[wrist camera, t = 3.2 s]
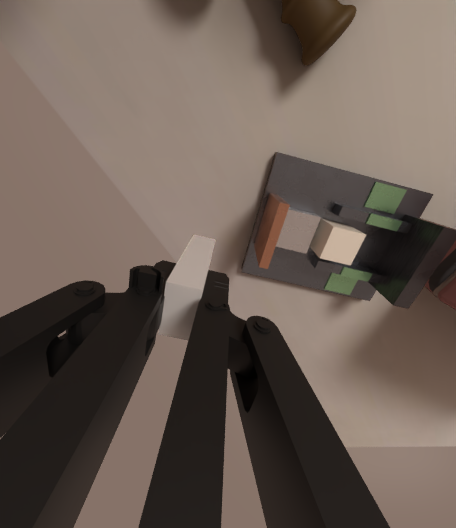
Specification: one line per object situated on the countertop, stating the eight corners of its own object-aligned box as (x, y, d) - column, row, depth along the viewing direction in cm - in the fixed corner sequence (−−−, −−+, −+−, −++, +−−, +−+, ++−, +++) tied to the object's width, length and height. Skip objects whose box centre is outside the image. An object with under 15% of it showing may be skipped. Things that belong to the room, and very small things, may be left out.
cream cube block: (309, 246, 31) (319, 258, 27) (321, 218, 29) (333, 226, 26) (337, 253, 31) (350, 265, 28) (350, 225, 30) (366, 234, 26)
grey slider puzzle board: (241, 268, 34) (243, 294, 27) (275, 152, 27) (288, 150, 21) (365, 296, 35) (395, 327, 29) (425, 193, 29) (482, 202, 22)
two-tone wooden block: (253, 244, 31) (258, 266, 24) (269, 192, 28) (280, 202, 22) (299, 255, 31) (315, 280, 25) (319, 205, 29) (344, 218, 22)
